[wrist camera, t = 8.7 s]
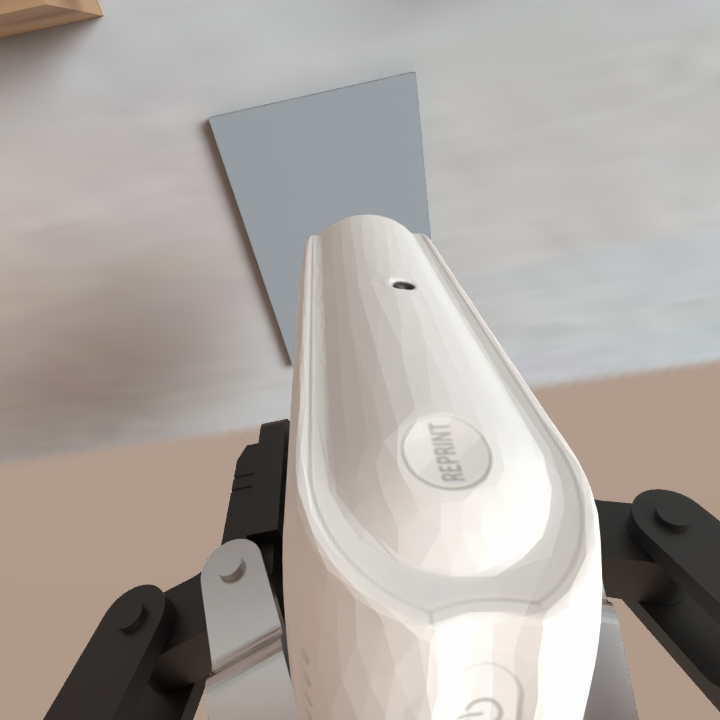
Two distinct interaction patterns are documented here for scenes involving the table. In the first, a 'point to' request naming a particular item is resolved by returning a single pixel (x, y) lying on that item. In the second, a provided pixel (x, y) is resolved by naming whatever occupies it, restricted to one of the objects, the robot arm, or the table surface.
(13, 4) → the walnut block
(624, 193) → the table surface
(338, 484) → the photo printer
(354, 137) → the slate mat
